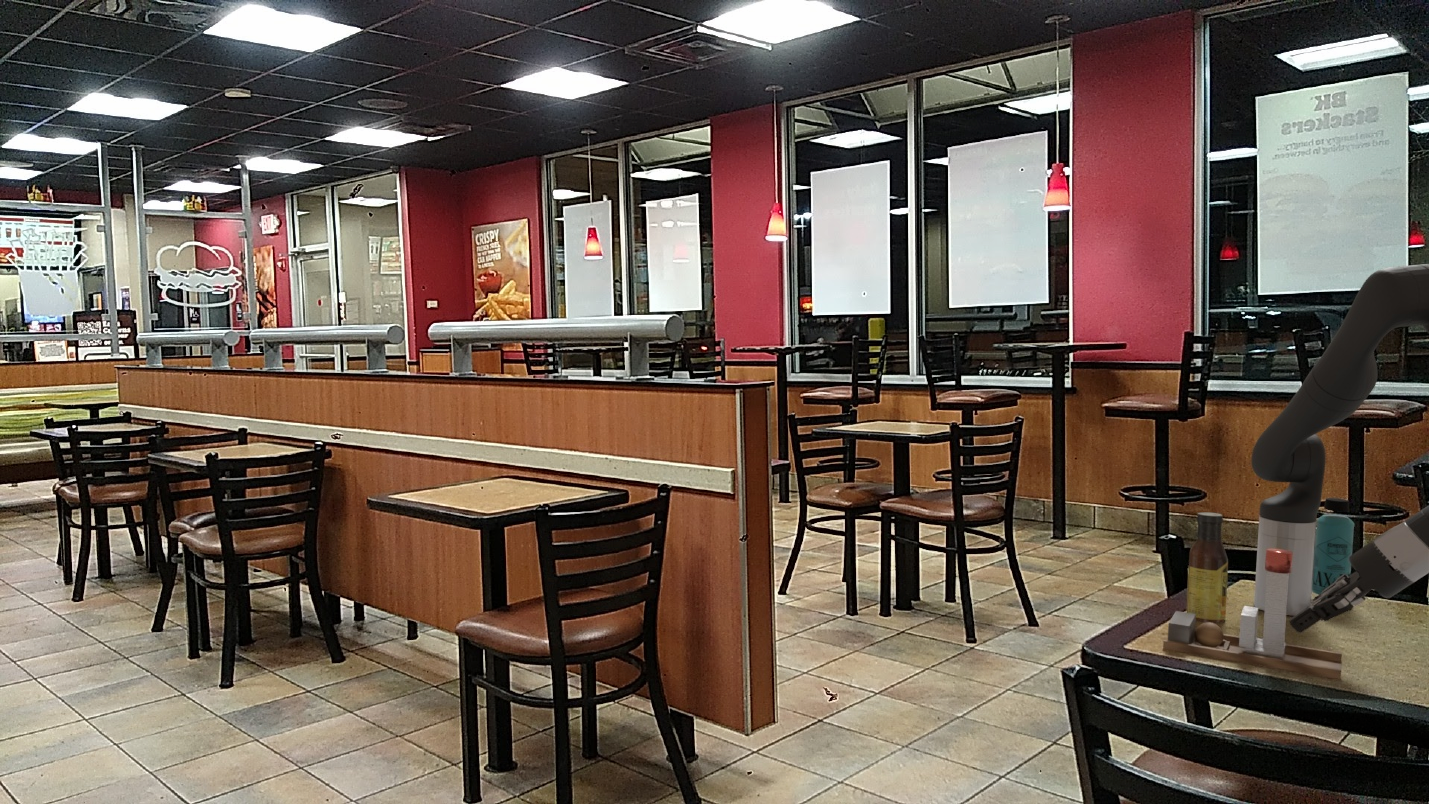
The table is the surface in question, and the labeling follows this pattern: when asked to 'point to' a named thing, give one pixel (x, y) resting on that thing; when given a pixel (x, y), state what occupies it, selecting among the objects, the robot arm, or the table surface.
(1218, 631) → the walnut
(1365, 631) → the table surface
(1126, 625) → the table surface
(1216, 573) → the sauce bottle
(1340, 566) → the beverage bottle
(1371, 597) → the table surface
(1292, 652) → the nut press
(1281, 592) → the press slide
